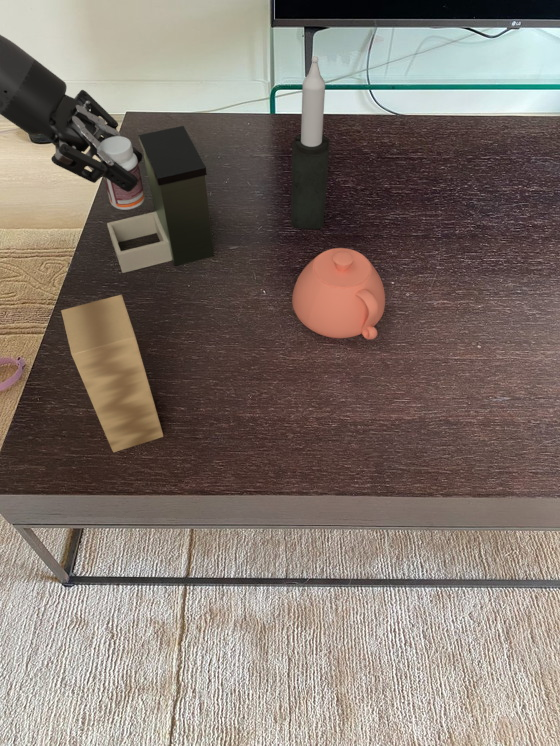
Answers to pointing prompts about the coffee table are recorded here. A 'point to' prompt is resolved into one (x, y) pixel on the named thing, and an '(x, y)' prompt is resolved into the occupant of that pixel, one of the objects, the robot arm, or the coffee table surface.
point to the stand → (112, 371)
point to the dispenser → (179, 193)
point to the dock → (142, 254)
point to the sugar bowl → (339, 295)
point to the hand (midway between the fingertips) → (135, 173)
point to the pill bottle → (123, 155)
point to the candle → (310, 156)
